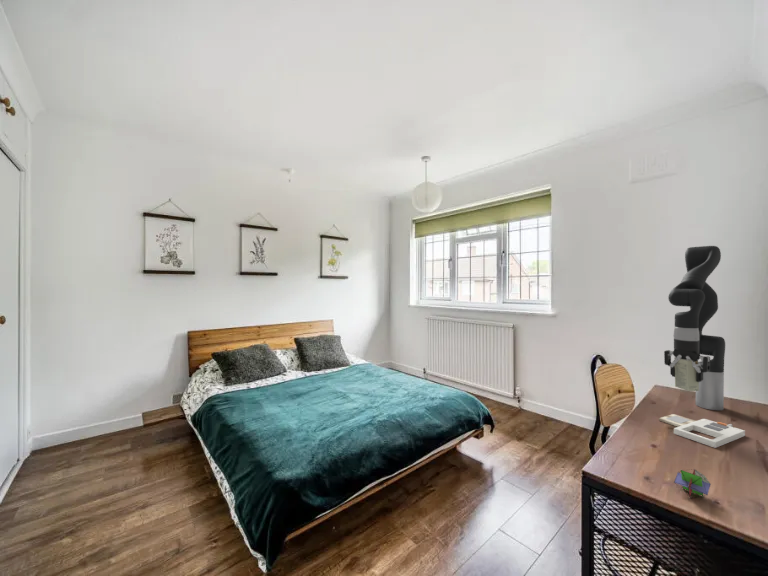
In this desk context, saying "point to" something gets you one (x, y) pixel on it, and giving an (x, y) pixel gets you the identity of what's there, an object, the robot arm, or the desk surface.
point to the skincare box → (686, 375)
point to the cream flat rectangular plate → (676, 420)
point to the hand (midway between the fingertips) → (686, 378)
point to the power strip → (710, 432)
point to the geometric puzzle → (693, 482)
